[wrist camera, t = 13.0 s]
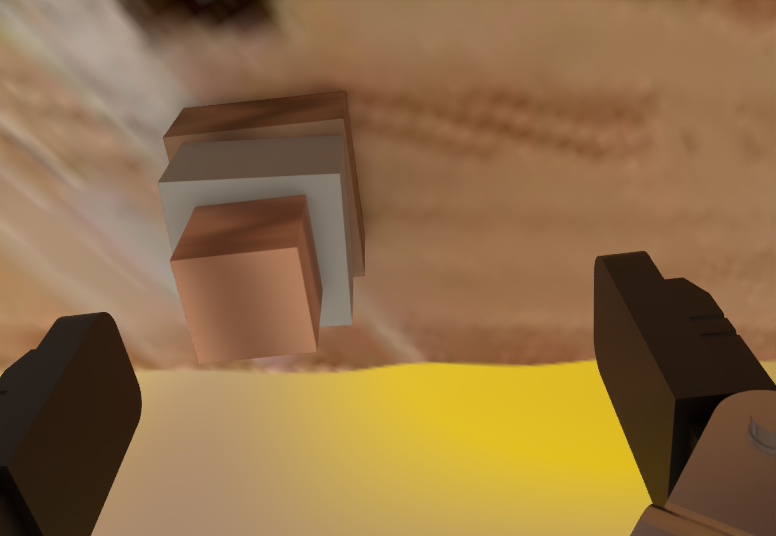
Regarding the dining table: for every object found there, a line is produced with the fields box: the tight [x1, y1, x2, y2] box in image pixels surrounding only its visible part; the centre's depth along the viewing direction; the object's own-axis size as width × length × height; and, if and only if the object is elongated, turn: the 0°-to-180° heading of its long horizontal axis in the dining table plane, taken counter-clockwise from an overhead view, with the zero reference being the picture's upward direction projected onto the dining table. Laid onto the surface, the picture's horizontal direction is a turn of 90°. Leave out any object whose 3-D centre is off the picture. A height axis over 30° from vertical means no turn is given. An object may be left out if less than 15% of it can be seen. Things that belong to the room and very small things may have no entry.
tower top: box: [158, 135, 353, 333], centre depth 37 cm, size 8×8×5 cm
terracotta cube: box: [170, 195, 323, 364], centre depth 32 cm, size 5×5×5 cm
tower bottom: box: [163, 91, 365, 277], centre depth 41 cm, size 9×9×5 cm
